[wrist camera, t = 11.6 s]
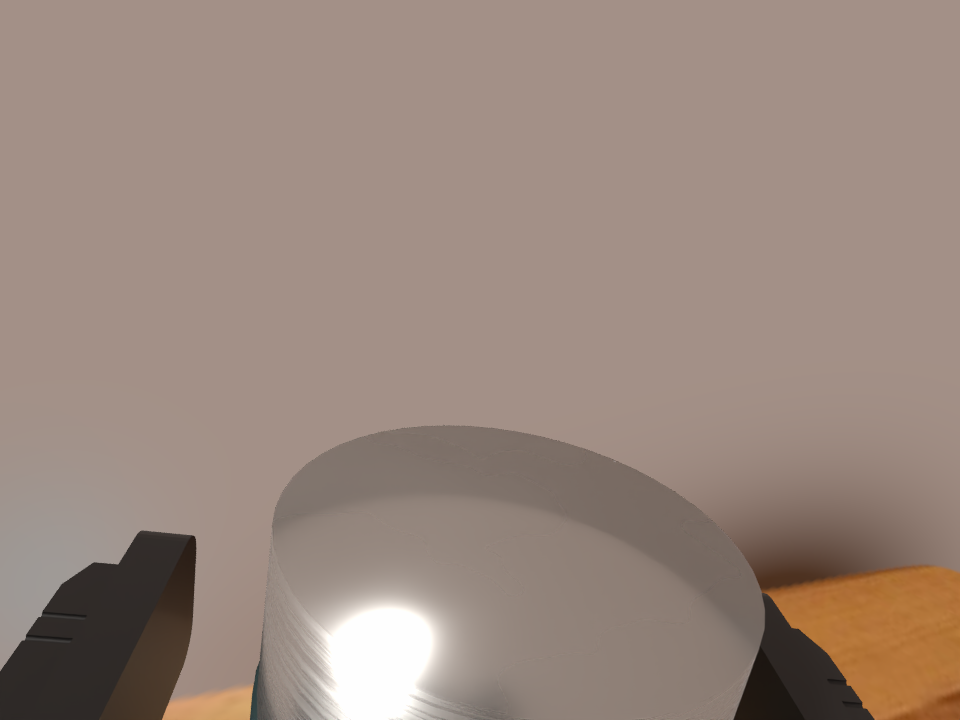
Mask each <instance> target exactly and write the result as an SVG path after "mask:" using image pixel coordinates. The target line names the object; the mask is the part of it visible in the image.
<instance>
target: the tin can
mask: <svg viewBox="0 0 960 720" xmlns="http://www.w3.org/2000/svg"><path fill="white" fill-rule="evenodd" d="M263 621H264V622H263V631H262V643H261V653H260V661H259V664H258V667H257V670H256V675H255V681H254V687H253V693H252V704H251V715H250V720H733V719H734V716H735V713H736V711H737V708H738V705H739V702H740V700H741V697H742V694H743V691H744V689H745V686H746V683H747V680H748V678H749V675H750V672H751V669H752V667H753V664H754V661H755V658H756V656H757V653H758V650H759V647H760V643H761V640H762V636H763V633H764V629H765V607H764V603H763V598H762V593H761V589H760V587H759V584H758V582H757V579H756V577H755V575H754V572H753V570H752V569H751V567H750V565H749V564H748V562H747V560H746V559H745V557H744V556H743V554H742V553H741V551H740V550H739V549H738V548H737V546H736V545H735V544H734V543H733V541H732V540H731V539H730V538H729V536H727V534H726V533H724V531H722V529H721V528H720V527H719V526H717V524H716V523H715V522H714V521H713V520H711V519H710V518H709V517H708V516H707V515H705V514H704V513H703V512H702V511H701V510H699V509H698V508H697V507H696V506H695V505H693V504H692V503H690V502H689V501H687V500H686V499H685V498H683V497H682V496H680V495H679V494H677V493H676V492H675V491H673V490H671V489H669V488H668V487H666V486H665V485H663V484H661V483H660V482H658V481H656V480H655V479H653V478H651V477H649V476H647V475H645V474H643V473H641V472H639V471H637V470H635V469H633V468H631V467H629V466H626V465H624V464H622V463H620V462H618V461H615V460H613V459H611V458H608V457H605V456H602V455H600V454H597V453H595V452H592V451H589V450H586V449H583V448H580V447H577V446H574V445H570V444H568V443H564V442H560V441H557V440H552V439H549V438H545V437H541V436H536V435H531V434H525V433H521V432H515V431H508V430H502V429H495V428H483V427H472V426H421V427H412V428H401V429H396V430H390V431H384V432H379V433H375V434H371V435H368V436H364V437H360V438H357V439H354V440H352V441H349V442H346V443H343V444H341V445H339V446H336V447H334V448H332V449H330V450H328V451H327V452H325V453H323V454H321V455H320V456H318V457H317V458H315V459H314V460H312V461H311V462H309V463H308V464H306V465H305V466H304V467H303V468H302V469H301V470H300V471H299V472H298V473H297V474H296V475H295V476H294V477H293V478H292V480H291V481H290V482H289V483H288V485H287V486H286V487H285V489H284V490H283V492H282V494H281V496H280V498H279V501H278V503H277V505H276V507H275V513H274V518H273V524H272V532H271V543H270V554H269V565H268V576H267V587H266V598H265V609H264V620H263Z"/></svg>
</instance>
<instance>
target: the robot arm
mask: <svg viewBox="0 0 960 720" xmlns="http://www.w3.org/2000/svg"><path fill="white" fill-rule="evenodd" d="M195 564H196V539H195V536H192V535H181V534H171V533H161V532H151V531H140V532H139V533H138V534H137V536H136V537H135V539H134V540H133V542H132V543H131V545H130V547H129V548H128V550H127V552H126V554H125V555H124V556H123V558H122V560H121V561H120V563H119V564H118V565H116V564H106V563H92V564H91V565H89V566H88V567H87V568H85V569H84V570H82V571H81V572H79V573H78V574H76V575H75V576H73V577H72V578H70V579H69V580H67V581H66V582H64V583H63V584H62V585H61V586H60V588H59V589H58V590H57V592H56V593H55V595H54V596H53V598H52V599H51V600H50V602H49V603H48V605H47V606H46V607H45V609H44V610H43V612H42V616H41V617H38V619H37V620H36V622H35V623H34V624H33V626H32V627H31V629H30V630H29V632H28V633H27V634H26V639H25V641H21V643H20V644H19V646H18V647H17V648H16V650H15V651H14V653H13V654H12V656H11V657H10V658H9V660H8V661H7V663H6V664H5V665H4V667H3V668H2V670H1V671H0V720H162V718H163V715H164V713H165V710H166V708H167V705H168V703H169V700H170V698H171V695H172V693H173V690H174V688H175V685H176V683H177V680H178V678H179V675H180V672H181V670H182V668H183V665H184V662H185V658H186V655H187V651H188V647H189V642H190V636H191V630H192V621H193V603H194V583H195ZM762 598H763V603H764V607H765V629H764V633H763V636H762V640H761V643H760V647H759V650H758V653H757V656H756V658H755V661H754V664H753V667H752V669H751V672H750V675H749V678H748V680H747V683H746V686H745V689H744V691H743V694H742V697H741V700H740V702H739V705H738V708H737V711H736V713H735V716H734V719H733V720H874V718H873V717H872V715H871V714H870V713H869V711H868V710H867V709H863V707H862V701H861V700H860V699H859V697H858V696H857V694H856V693H855V692H854V690H853V689H852V687H851V686H847V684H846V681H847V680H846V679H845V678H844V676H843V675H842V673H841V672H840V671H839V669H838V668H837V666H836V665H835V664H834V662H833V661H832V659H831V658H830V657H829V655H828V654H827V653H826V652H825V651H824V650H823V649H821V648H820V647H819V646H818V645H817V644H816V643H814V642H813V641H812V640H811V639H810V638H808V637H807V636H806V635H805V634H804V633H803V632H801V631H800V630H799V629H794V628H791V626H790V625H789V623H788V622H787V621H786V619H785V618H784V616H783V615H782V613H781V612H780V610H779V609H778V607H777V606H776V604H775V603H774V601H773V600H772V599H771V598H770V596H768V595H767V594H765V593H762Z"/></svg>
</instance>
